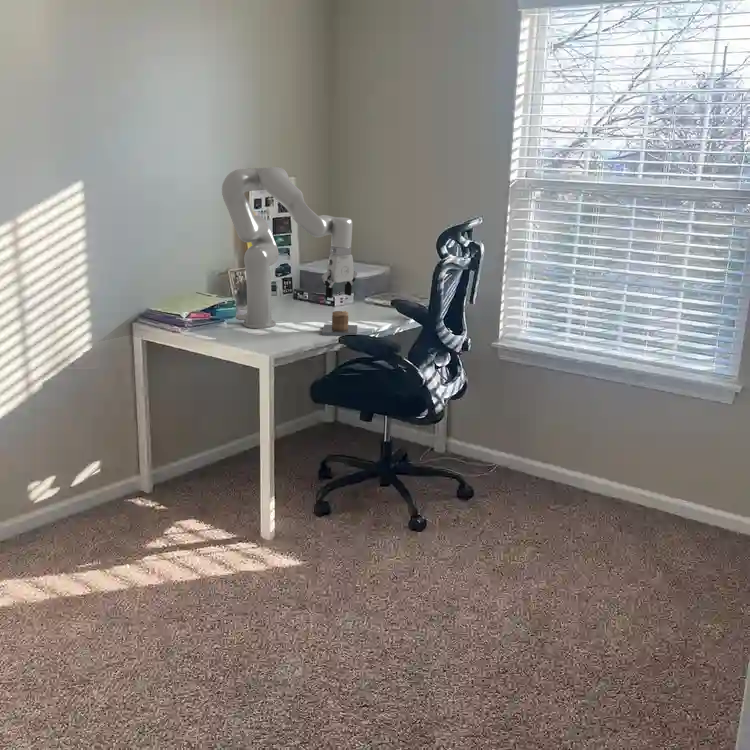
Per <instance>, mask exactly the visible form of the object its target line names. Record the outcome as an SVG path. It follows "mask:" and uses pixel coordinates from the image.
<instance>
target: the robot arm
mask: <svg viewBox="0 0 750 750" xmlns="http://www.w3.org/2000/svg"><path fill="white" fill-rule="evenodd" d="M254 191H255V192H256V191H266V192H267V193H268V194H269V195H271V196H272V197H273V199H275V200H277V202H279V204H280V205H282V206H283V207H284V208H285V209H286V210H287V212H288V213H289V215H290V216H291V217H292V219H293V220H294V221H295V223H297V225H298V226H299V227H301V228H302V229H303V230H304V231H305V232H306V233H307V234H309V235H310V236H312V237H314V238H322V237H325V236H329V235H330V236H331V237H330V238H331V240H330V242H331V243H330V248H329V253H330V254H329V257H328V261H327V267H326V272H325V273H324V274H322V275H321V280H322V283H323V285H324V287H325V297H326V298H328V299H333V296H334V295H333V294H334V293H333V292H334V288H333V286H334V284H335V283H336V284H337V283H338V284H339V283H345V284H344V295H346V296H352V289H353V287H352V286H353V285H354V283H355V281H356V278H357V276H358V273H357V272H356V271H355V270H354V269H355V268H354V258H353V254H352V241H353V240H352V238H353V220H352V219H351V218H349V217H344V216H343V217H337V216H332V215H327V214H322V215H321V214H320V215H318V214H317V213H315V211H313V210H312V209H311V208H310V207H309V206H308V205H307V203H306V201H305V199H304V193H303V192H302V191H301V189H300V188H298V187H297V186H296V185H295V184H294V183H292V182H291V180H290V177H289V174H288V172H287V171H286V170H285V169H284V168H283V167H281V166H280V167H279V166H273V167H257V168H256V167H255V168H254V167H253V168H251V167H250V168H249V167H248V168H240V169H234V170H233V171H231V172H229V173H228V174H227V175H226V176H225V178H224V180H223V182H222V185H221V196H222V199H223V201H224V203H225V206H226V208H227V211H228V213H229V216H230V220H231V222H232V225H233V227H234V229H235V232H236V234H237V236H238V238H239V240H240V241H242V242H244V243H250V244H251V246H249V247H248V248H247V250H246V251H245V253H244V256H243V257H244V258H243V261H244V262H243V263H244V269H245V279H246V313H244V314H240V313H239V314H237V313H236V315H235V319H236V320H238V321H243V322H242V323H243V326H244V327H245V328H248V329H249V328H250V329H268V328H273V327H275V326H276V325H277V323H276V321H275V320H273V319H272V317H273V316H272V314H273V313H272V309H273V308H272V275H271V269H270V266H272V265H274V264H276V262H277V261H278V259H279V249H278V246H277V243H276V241H275V237H274V235H273V231H272V230H271V227H270V226H269V222H267V220H266V219H265V218H263V217H262V216H260V215H255V214H254V211H253V210H252V207H251V204H250V202H249V200H248V199H247V197H246V195H245V193H247V192H254Z"/></svg>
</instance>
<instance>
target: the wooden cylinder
mask: <svg viewBox="0 0 750 750" xmlns="http://www.w3.org/2000/svg"><path fill="white" fill-rule="evenodd" d="M331 320H332V321H331V324H332V329H334V330H347V329H348V325H349V312H348V311H346V310H335V311H333V312H332V316H331Z"/></svg>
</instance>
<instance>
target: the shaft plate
mask: <svg viewBox="0 0 750 750" xmlns="http://www.w3.org/2000/svg"><path fill="white" fill-rule="evenodd" d="M321 333H322V334H321V335H322V336H335V337H336V336H337V337H339V336H341V337H343V336H344V337H346V336H345V335H358V324H348V329H347V330H334V329H332V323H331V324H329V323H328V324H323V328H322V332H321Z"/></svg>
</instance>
